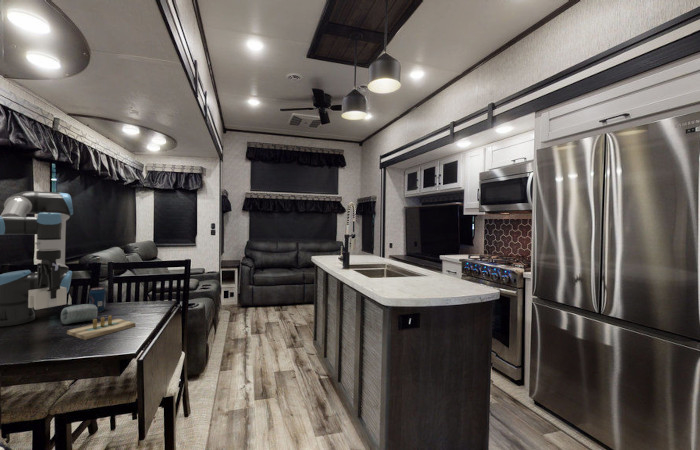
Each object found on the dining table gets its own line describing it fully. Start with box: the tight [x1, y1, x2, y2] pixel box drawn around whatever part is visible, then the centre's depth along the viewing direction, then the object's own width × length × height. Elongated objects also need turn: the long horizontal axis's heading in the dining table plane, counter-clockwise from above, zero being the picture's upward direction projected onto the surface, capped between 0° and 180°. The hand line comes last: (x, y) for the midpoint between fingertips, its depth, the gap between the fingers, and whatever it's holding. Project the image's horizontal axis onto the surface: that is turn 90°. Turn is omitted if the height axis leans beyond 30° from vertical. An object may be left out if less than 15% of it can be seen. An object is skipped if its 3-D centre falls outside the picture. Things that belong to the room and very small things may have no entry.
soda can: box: [88, 286, 107, 313], centre depth 174 cm, size 7×7×12 cm
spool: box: [60, 303, 99, 325], centre depth 156 cm, size 14×10×10 cm
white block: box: [28, 286, 68, 311], centre depth 136 cm, size 6×10×7 cm, turn 154°
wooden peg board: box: [66, 315, 136, 341], centre depth 146 cm, size 14×20×6 cm
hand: (47, 305), depth 136 cm, fingers closed on white block, 6 cm apart
